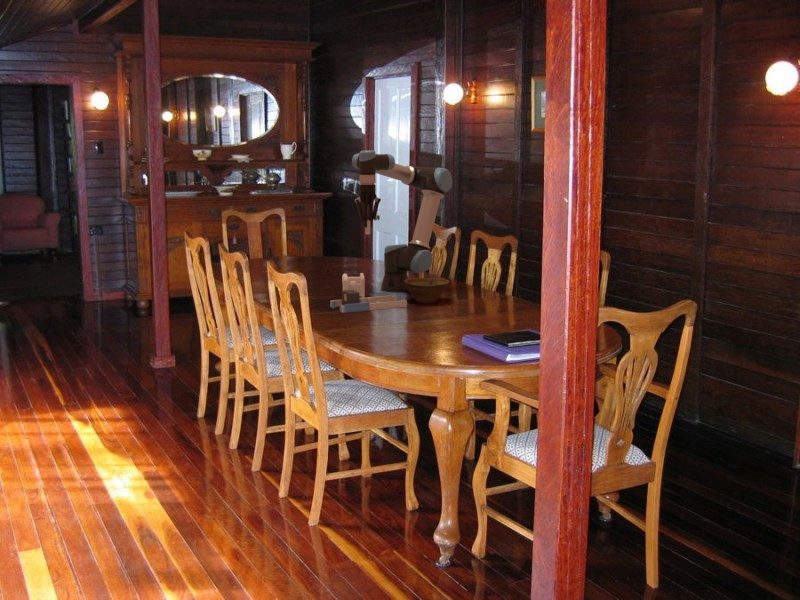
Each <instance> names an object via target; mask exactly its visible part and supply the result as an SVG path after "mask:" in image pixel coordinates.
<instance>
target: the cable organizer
mask: <svg viewBox="0 0 800 600" xmlns="http://www.w3.org/2000/svg"><path fill="white" fill-rule="evenodd" d="M341 280H342V290H354V291H356V292H359V297H360V298H366V297H365V296H366V293H365V290H366V289H365V288H366V287H365V286H366V282H365V274H364V272H361V273H359V276H348V273H342V275H341Z"/></svg>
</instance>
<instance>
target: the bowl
mask: <svg viewBox="0 0 800 600" xmlns="http://www.w3.org/2000/svg"><path fill="white" fill-rule="evenodd" d="M405 284H406V286H407V288H408V291H409V293H410V295H411V296H412V297H413V298H414V300H415V301H416V302H417V303H422V304H423V303H424V304H429V303H430V304H431V303H435V302H436V301H438V300H439V298H440V297H441V296H442V294H443V293H444V292H445V291H446V290H447V288H448V286H449V284H450V281H449V280H448V279H446V278H438V277H437V278H436V277H430V278H429V277H428V278H427V277H423V278H421V277H420V278H418V277H417V278H416V277H412V278H408V279H407V280H405Z"/></svg>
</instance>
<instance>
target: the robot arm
mask: <svg viewBox="0 0 800 600" xmlns="http://www.w3.org/2000/svg"><path fill="white" fill-rule="evenodd" d="M351 158H352V159H351V165H352V167H353V168H354V169H355V170H359V195H358V196H357V198H355V199H354V204H356V208H357V214H358V217H359V219H360V220H362V221H363V227H364V229H365V230H364V234H365V235H368V236H369V235H371V228H373V221H374V220H375V219H377V214H378V209H379V204H380V202H381V200H382V199H381V198H379V197H378V196H377V194H376V192H377V191H376V189H377V188H376V187H377V186H376V182H377V180H376V175H380V176H384V177H387V178H390V179H393V180H395V181H399V182H400V181H401V183H402V184H403V185H406V186H409V187H412V188H413V189H414V188H415V189H418V190H421V193H422V194H423V197H422V200H421V204H420V209H419V212H418V216H417V220H416V222H415V223H416V224H415V227H414V232H413V235H412V240H411V241H409V242H408V243H403V244H402V243H401V244H400V243H399V244H392V245H391V244H390V245H386V246H384V247H385V248H384V254H383V260H384V262H383V263H384V264H383V265H384V266H383V267H384V275H383V279H382V281H381V285H380V290H381V291H385V292H391V293H395V292H396V293H397V292H398V293H399V292H401V293H402V292H407V291H409V290H408V288H407V286H406V284H405V280H407V279H409V275H408V272H411V273H415V274H422V273H426V272H427V271H428V270H429V269H430V268H431V267H432V265H433V259H434V257H433V254H432V252H431V246H430V244H429V243H430V240H431V237H432V233H433V228H434V225H435V221H436V217H437V213H438V209H439V207H440V206H439V205H440V202H441V199H443V198H444V197H445V195H446V193H447V192H449V191H450V190H451V189H452V186H453V176H452V174H451V172H450V170H448V169H447V168H444V167H429V166H411V165H406V166H405V165H403V164H399V163H396V160H395V159H396V158H395V157H394V156H393V155H392V154H390V153H381V154H379V153H376V151H375V150H372V149H371V150H361V151H359V153H356V154H354V155H353V156H352V157H351ZM361 204H362V205H361Z"/></svg>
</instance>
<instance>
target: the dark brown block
mask: <svg viewBox="0 0 800 600" xmlns="http://www.w3.org/2000/svg"><path fill="white" fill-rule="evenodd" d="M359 298H360V296H359V292H356V291H354V290H343V289H342V290H341V300H342V305H343V306H345V304H355V303H359Z"/></svg>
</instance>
